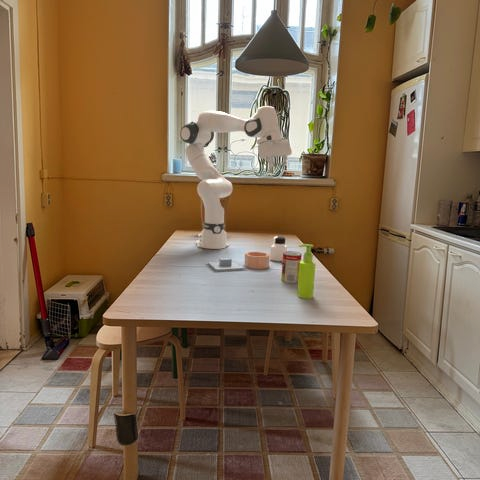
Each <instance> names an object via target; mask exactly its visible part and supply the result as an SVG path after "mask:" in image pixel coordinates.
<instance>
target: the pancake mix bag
mask: <svg viewBox="0 0 480 480" xmlns="http://www.w3.org/2000/svg"><path fill="white" fill-rule="evenodd" d="M230 196H231V194H230V195H229V196H227V197H224V198H220V203H221V206H222V207H223V208H224V223H225V228H224V231H225V232H226V233H227V231H226V225H227V216H228V212H229V211H228V210H229V205H230V204H229V203H230ZM200 215H201V228H202V230H203V229H204V228H203V225H204V222H205V208H204V203H203V200H202V198H201V197H200ZM202 230H201V231H202Z"/></svg>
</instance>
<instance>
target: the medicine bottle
mask: <svg viewBox="0 0 480 480" xmlns="http://www.w3.org/2000/svg"><path fill="white" fill-rule="evenodd" d="M285 251H288V246H287V245H286V237H284V236H282V235H281V236H280V235H279V236H274V237H273V244H272V245H271V246H270V252H269V253H270V254H269V255H270V259H269V261H276V262H283V252H285Z"/></svg>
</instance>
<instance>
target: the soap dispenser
mask: <svg viewBox="0 0 480 480" xmlns="http://www.w3.org/2000/svg"><path fill="white" fill-rule="evenodd" d="M297 245H298V247H299V248H302V247H305V248H306V251H305V252H304V253H303V259H302V260H301V261H300V265H299V279H298V283H297V294H296V295H297V296H298V298H301V299H312V298H313V297H314V286H315V276H316V266H317V265H316V262H315V261H313V258H314V254H313V253H312V248H314V245H313V244H312V243H311V244H310V243H300V244H297Z"/></svg>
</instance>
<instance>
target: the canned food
mask: <svg viewBox="0 0 480 480" xmlns="http://www.w3.org/2000/svg"><path fill="white" fill-rule="evenodd" d="M302 255H303V254H302V252H299V251H293V250H287V251H285V252H283V262H282V261H281V262H282V263H281V264H282V266H281V278H280V279H281V281H282V282H284V283H290V284H298V279H299V265H300V261H302Z"/></svg>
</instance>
